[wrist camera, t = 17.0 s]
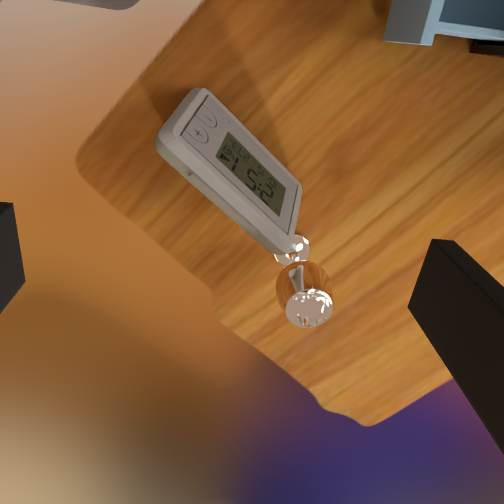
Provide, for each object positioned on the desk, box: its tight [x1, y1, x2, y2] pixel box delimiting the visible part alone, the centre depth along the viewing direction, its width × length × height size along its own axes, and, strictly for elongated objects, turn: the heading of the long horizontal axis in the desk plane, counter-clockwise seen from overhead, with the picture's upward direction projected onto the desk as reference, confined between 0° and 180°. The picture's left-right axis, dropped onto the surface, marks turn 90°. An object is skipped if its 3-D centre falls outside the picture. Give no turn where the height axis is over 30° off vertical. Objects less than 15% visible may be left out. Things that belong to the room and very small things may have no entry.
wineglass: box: [274, 234, 333, 328], centre depth 45 cm, size 6×6×12 cm
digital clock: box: [155, 88, 302, 255], centre depth 40 cm, size 16×9×11 cm, turn 33°
